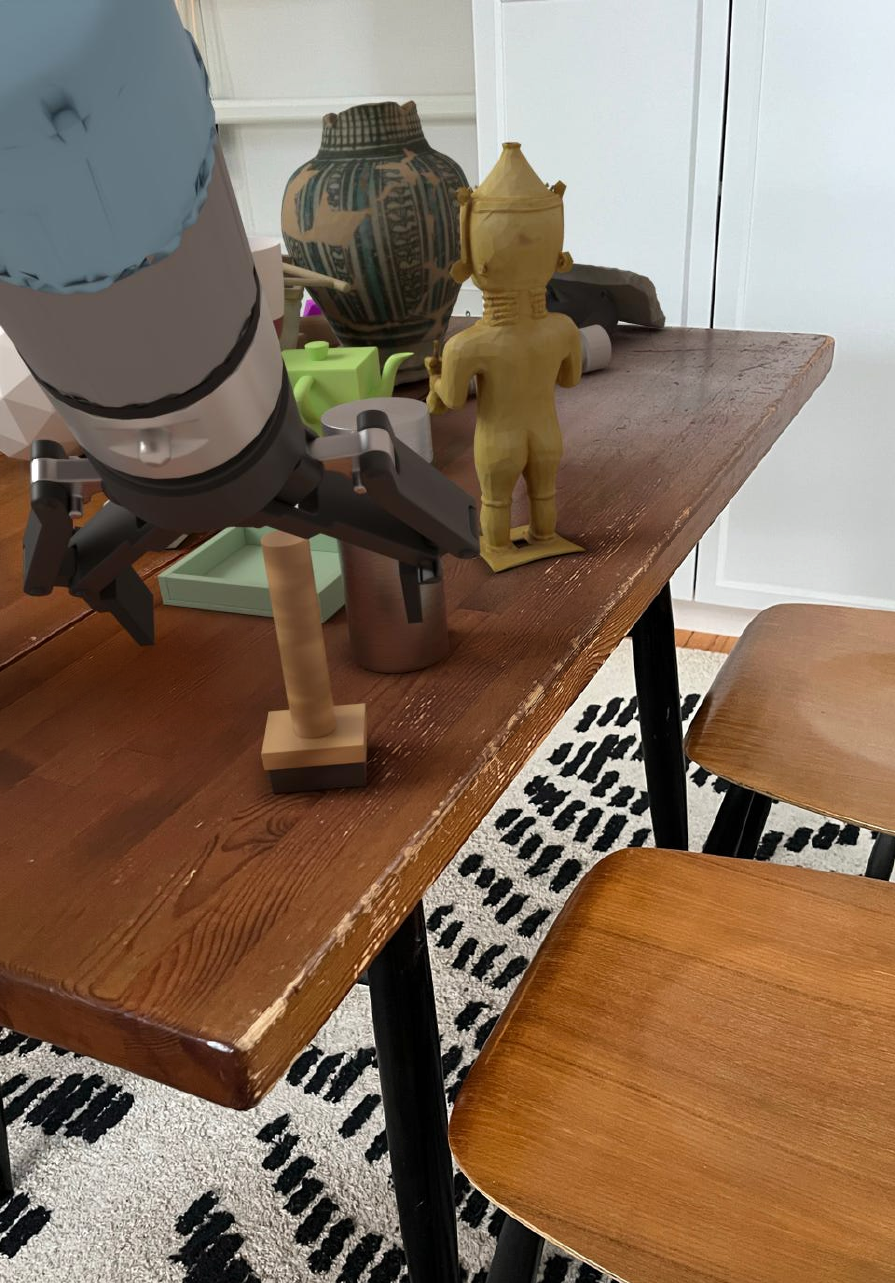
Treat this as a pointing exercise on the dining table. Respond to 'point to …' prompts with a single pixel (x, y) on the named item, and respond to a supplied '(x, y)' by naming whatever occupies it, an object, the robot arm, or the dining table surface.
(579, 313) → the gaming controller
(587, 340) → the screw
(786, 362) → the dining table surface
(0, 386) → the ball
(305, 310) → the crystal
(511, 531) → the figurine
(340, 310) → the vase
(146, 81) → the robot arm
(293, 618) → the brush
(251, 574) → the tray
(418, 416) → the bottle
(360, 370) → the teapot
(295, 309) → the swing bench
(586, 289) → the stone
